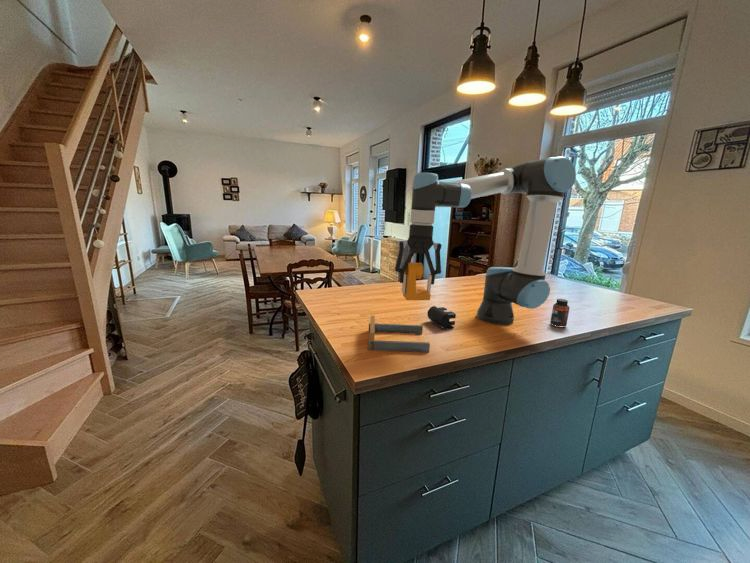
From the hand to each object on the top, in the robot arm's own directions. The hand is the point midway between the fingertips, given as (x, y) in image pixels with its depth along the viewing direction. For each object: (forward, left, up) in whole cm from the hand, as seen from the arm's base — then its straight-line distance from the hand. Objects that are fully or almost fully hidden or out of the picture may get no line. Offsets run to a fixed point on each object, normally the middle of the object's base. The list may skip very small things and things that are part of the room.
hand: (415, 292), depth 102 cm
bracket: (0, 0, -2) cm, 2 cm away
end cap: (-14, -17, -18) cm, 28 cm away
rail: (+5, 0, -18) cm, 18 cm away
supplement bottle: (-65, -22, -18) cm, 71 cm away
